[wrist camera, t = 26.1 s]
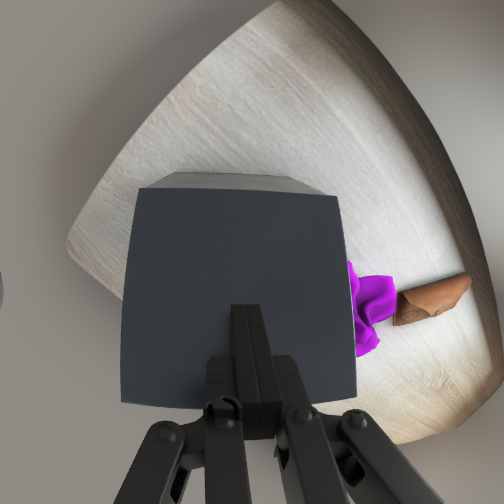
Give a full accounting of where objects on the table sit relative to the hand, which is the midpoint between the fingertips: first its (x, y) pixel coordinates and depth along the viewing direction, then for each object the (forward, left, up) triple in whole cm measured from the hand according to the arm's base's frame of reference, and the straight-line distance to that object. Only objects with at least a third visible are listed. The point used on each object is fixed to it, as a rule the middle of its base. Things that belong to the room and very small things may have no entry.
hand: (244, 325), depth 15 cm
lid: (0, 0, -3) cm, 3 cm away
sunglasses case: (+38, -13, -23) cm, 46 cm away
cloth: (+20, -17, -23) cm, 35 cm away
